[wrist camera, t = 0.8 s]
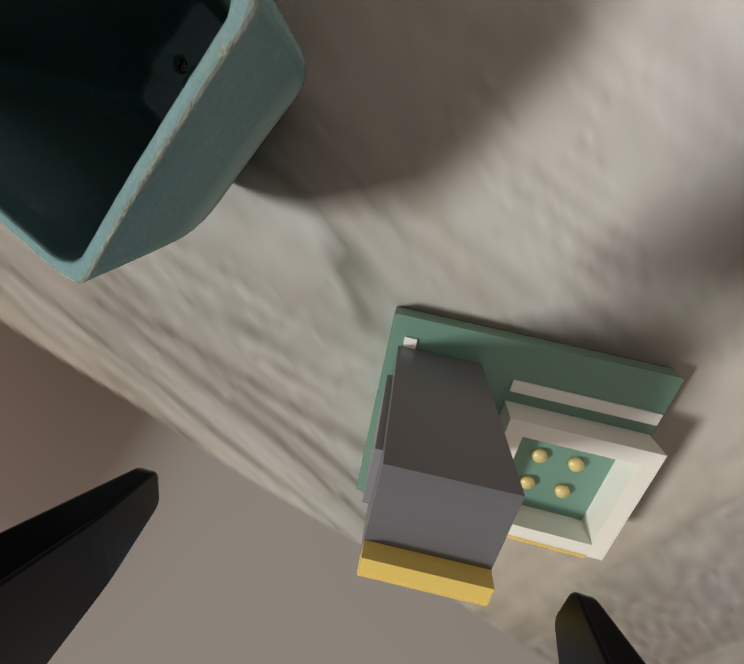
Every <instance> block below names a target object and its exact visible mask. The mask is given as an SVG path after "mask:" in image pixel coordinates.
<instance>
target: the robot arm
mask: <svg viewBox="0 0 744 664" xmlns="http://www.w3.org/2000/svg"><path fill="white" fill-rule="evenodd" d="M158 501H159V487H158V475H157V473H156V472H154V471H151V470H147V469H144V468H136V469H133V470H131V471H129V472H127V473H125V474H123V475H121V476H119V477H116V478H114V479H112V480H110V481H108V482H106V483H104V484H102V485H100V486H98V487H96V488H93V489H91V490H89V491H87V492H85V493H83V494H81V495H79V496H76V497H74V498H72V499H70V500H68V501H66V502H64V503H62V504H60V505H58V506H55V507H53V508H51V509H49V510H47V511H45V512H43V513H41V514H39V515H37V516H34V517H32V518H30V519H28V520H26V521H24V522H22V523H20V524H17V525H16V526H13V527H11V528H9V529H7V530H5V531H3V532H1V533H0V664H47V663H48V662H49V660H50V659H51V658H52V656H53V655H54V654H55V652H56V651H57V650H58V648H59V647H60V646H61V645H62V643H63V642H64V641H65V639H66V638H67V637H68V635H69V634H70V633H71V631H72V630H73V629H74V628H75V626H76V625H77V624H78V622H79V621H80V620H81V618H82V617H83V616H84V614H85V613H86V612H87V611H88V609H89V608H90V607H91V605H92V604H93V603H94V601H95V600H96V599H97V597H98V596H99V595H100V593H101V592H102V591H103V589H104V588H105V587H106V585H107V584H108V583H109V581H110V580H111V578H112V577H113V575H114V574H115V572H116V571H117V569H118V568H119V566H120V564H121V563H122V561H123V560H124V558H125V557H126V555H127V553H128V552H129V550H130V549H131V547H132V546H133V544H134V543H135V541H136V539H137V538H138V536H139V535H140V533H141V532H142V530H143V528H144V527H145V525H146V523H147V522H148V520H149V519H150V517H151V516H152V514H153V513H154V511H155V509H156V507H157V505H158ZM555 631H556V641H557V650H558V659H559V664H646V663H645V662H644V661H643V660H642V658H641V657H640V656H639V654H638V653H637V652H636V650H635V649H634V648H633V646H632V645H631V644H630V643H629V641H628V640H627V639H626V637H625V636H624V635H623V633H622V632H621V631H620V630H619V628H618V627H617V626H616V624H615V623H614V622H613V620H612V619H611V618H610V617H609V615H608V614H607V613H606V611H605V610H604V609H603V607H602V606H601V605H600V604H599V602H598V601H597V600H596V599H594V598H593V597H591V596H587V595H584V594H580V593H577V592H573V593H571V594H570V595H569V597H568V598H567V600H566V601H565V603H564V604H563V606H562V608H561V609H560V611H559V612H558V614H557V616H556V621H555Z"/></svg>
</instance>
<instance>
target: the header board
mask: <svg viewBox="0 0 744 664" xmlns="http://www.w3.org/2000/svg"><path fill="white" fill-rule="evenodd" d="M398 346H402V347H407V348H411V349H416V350H420V351H425V352H430V353H434V354H439V355H443V356H448V357H453V358H457V359H462V360H467V361H471V362H476V363H480V364H482V366H483V369H484V372H485V375H486V378H487V381H488V384H489V387H490V390H491V393H492V396H493V399H494V402H495V405H496V408H497V412H498V415H499V418H500V421H501V424H502V427H503V430H504V433H505V436H506V439H507V442H508V445H509V448H510V451H511V454H512V457H513V460H514V463H515V467H516V470H517V473H518V476H519V479H520V482H521V485H522V488H523V491H524V494H525V498H524V500H523V502H522V505H521V507H520V509H519V511H518V513H517V515H516V517H515V520H514V522H513V524H512V526H511V528H510V530H509V533H508V535H507V538H510V539H514V540H518V541H522V542H525V543H529V544H533V545H537V546H541V547H544V548H548V549H552V550H556V551H559V552H563V553H567V554H571V555H574V556H578V557H582V558H585V556H588V557H592V558H596V559H599V560H602V559H603V557H604V556H605V554H606V553H607V551H608V549H609V548H610V546H611V545H612V543H613V542H614V540H615V538H616V537H617V535H618V534H619V532H620V530H621V529H622V527H623V526H624V524H625V523H626V521H627V519H628V518H629V516H630V515H631V513H632V511H633V510H634V508H635V507H636V505H637V504H638V502H639V500H640V499H641V497H642V496H643V494H644V492H645V491H646V489H647V488H648V486H649V485H650V483H651V481H652V480H653V478H654V477H655V475H656V473H657V472H658V470H659V469H660V467H661V466H662V464H663V462H664V461H665V459H666V458H667V455H666V454H665V453H664V451H663V450H662V449H661V448H660V447H659V445H658V444H657V443H656V442H655V441H654V439H653V438H652V437H651V436H652V434H653V432H654V430H655V429H656V427H657V425H658V424H659V422H660V420H661V419H662V417H663V415H664V414H665V412H666V410H667V409H668V407H669V405H670V403H671V402H672V400H673V398H674V397H675V395H676V393H677V392H678V390H679V388H680V387H681V385H682V383H683V382H684V380H685V378H683V377H682V376H681V375H680V374H678V373H677V372H676V371H675V370H673V369H672V368H668V367H663V366H659V365H654V364H650V363H646V362H641V361H637V360H632V359H628V358H623V357H619V356H614V355H610V354H606V353H601V352H597V351H592V350H588V349H583V348H579V347H574V346H570V345H566V344H561V343H557V342H552V341H548V340H543V339H539V338H534V337H530V336H526V335H521V334H517V333H512V332H508V331H503V330H499V329H494V328H490V327H486V326H481V325H477V324H472V323H468V322H463V321H459V320H454V319H450V318H446V317H441V316H437V315H432V314H428V313H423V312H419V311H414V310H410V309H406V308H401V307H397V308H396V311H395V315H394V319H393V324H392V328H391V333H390V338H389V342H388V347H387V351H386V356H385V360H384V365H383V369H382V374H381V379H380V383H379V388H378V392H377V397H376V401H375V406H374V410H373V415H372V419H371V424H370V429H369V433H368V438H367V442H366V447H365V451H364V456H363V460H362V465H361V469H360V474H359V479H358V483H357V488H356V489H359V490H363V491H365V485H366V480H367V474H368V468H369V463H370V457H371V452H372V446H373V440H374V435H375V429H376V424H377V418H378V414H379V409H380V405H381V400H382V396H383V392H384V387H385V383H386V378H387V374H388V375H392V371H393V367H394V363H395V358H396V354H397V350H398Z"/></svg>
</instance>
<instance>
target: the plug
mask: <svg viewBox="0 0 744 664" xmlns="http://www.w3.org/2000/svg"><path fill="white" fill-rule="evenodd" d="M524 498H525V494H524V491H523V488H522V485H521V482H520V479H519V476H518V473H517V470H516V467H515V463H514V460H513V457H512V454H511V451H510V448H509V445H508V442H507V439H506V436H505V433H504V430H503V427H502V424H501V421H500V418H499V415H498V412H497V408H496V405H495V402H494V399H493V396H492V393H491V390H490V387H489V384H488V381H487V378H486V375H485V372H484V369H483V366H482V364H480V363H476V362H471V361H467V360H462V359H457V358H453V357H448V356H443V355H439V354H434V353H430V352H425V351H420V350H416V349H411V348H407V347H402V346H398V350H397V354H396V358H395V363H394V367H393V371H392V375H388V374H387V378H386V383H385V387H384V392H383V396H382V400H381V405H380V409H379V414H378V418H377V424H376V429H375V435H374V440H373V446H372V452H371V457H370V463H369V468H368V474H367V480H366V485H365V491H364V496H363V502H364V503H368V508H367V514H366V520H365V526H364V533H363V539H362V545H361V551H360V558H359V565H358V571H357V575H358V576H363V577H367V578H371V579H375V580H379V581H383V582H387V583H392V584H396V585H400V586H404V587H408V588H412V589H417V590H421V591H425V592H429V593H433V594H438V595H441V596H445V597H450V598H454V599H458V600H462V601H466V602H470V603H474V604H478V605H483V606H487V604H488V602H489V600H490V598H491V596H492V594H493V592H494V590H495V589H494V583H493V578H492V572H491V569H492V567H493V565H494V563H495V561H496V558H497V556H498V554H499V552H500V550H501V548H502V545H503V543H504V541H505V539H506V537H507V535H508V533H509V530H510V528H511V526H512V524H513V522H514V520H515V517H516V515H517V513H518V511H519V509H520V507H521V505H522V502H523V500H524Z"/></svg>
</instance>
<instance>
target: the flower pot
mask: <svg viewBox="0 0 744 664" xmlns="http://www.w3.org/2000/svg"><path fill="white" fill-rule="evenodd" d="M181 60H186V61H187V71H186V73H185V74H182V73H181V72H180V70H179V63H180V61H181ZM305 74H306V69H305V61H304V56H303V54H302V51H301V49H300V46H299V44H298V42H297V41H296V39H295V37H294V35H293V33H292V32H291V30H290V28H289V26H288V24H287V23H286V21H285V19H284V17H283V16H282V14H281V12H280V10H279V8H278V7H277V5H276V3H275V2H274V0H0V223H1V224H3V225H4V226H5V227H6V228H7V229H8V230H9V231H10V232H11V233H12V234H13V235H15V236H16V237H17V238H18V239H19V240H21V241H22V242H23V243H25V244H26V245H27V247H28V248H29V249H31V250H32V251H33V252H35V253H36V254H37V255H38V256H39V257H40V258H41V259H42V260H44V261H45V262H46V263H47V264H48V265H49V266H51V267H52V268H53V269H54V270H56V271H57V272H59V273H60V274H62V275H63V276H65V277H66V278H68V279H70V280H71V281H73V282H75V283H78V284H82V283H84V282H86V281H88V280H90V279H92V278H94V277H97V276H99V275H101V274H103V273H106V272H108V271H111V270H113V269H115V268H117V267H120V266H122V265H124V264H126V263H129V262H131V261H133V260H135V259H137V258H140V257H142V256H144V255H146V254H149V253H151V252H153V251H155V250H157V249H159V248H162V247H164V246H166V245H168V244H170V243H172V242H174V241H176V240H178V239H180V238H182V237H183V236H185V235H187V234H188V233H189V232H191V231H192V230H193V229H195V228H196V227H197V226H198V225H199V224H200V223H201V222H202V221H204V220H205V218H206V217H207V216H208V215H209V214H210V213H211V212H212V210H213V209H214V208H215V206H216V205H217V204H218V203H219V201H220V200H221V199H222V197H223V196H224V194H225V193H226V192H227V190H228V189H229V187H230V186H231V185H232V183H233V182H234V181H235V179H236V178H237V176H238V175H239V174H240V172H241V171H242V170H243V168H244V167H245V166H246V164H247V163H248V161H249V160H250V159H251V157H252V156H253V155H254V153H255V152H256V150H257V149H258V148H259V146H260V145H261V144H262V142H263V141H264V140H265V138H266V137H267V136H268V134H269V133H270V132H271V130H272V129H273V128H274V126H275V125H276V124H277V122H278V121H279V119H280V118H281V117H282V115H283V114H284V113H285V111H286V110H287V109H288V108H289V106H290V105H291V104H292V102H293V101H294V100H295V98H296V97H297V95H298V94H299V92H300V90H301V88H302V86H303V84H304V80H305Z"/></svg>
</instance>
